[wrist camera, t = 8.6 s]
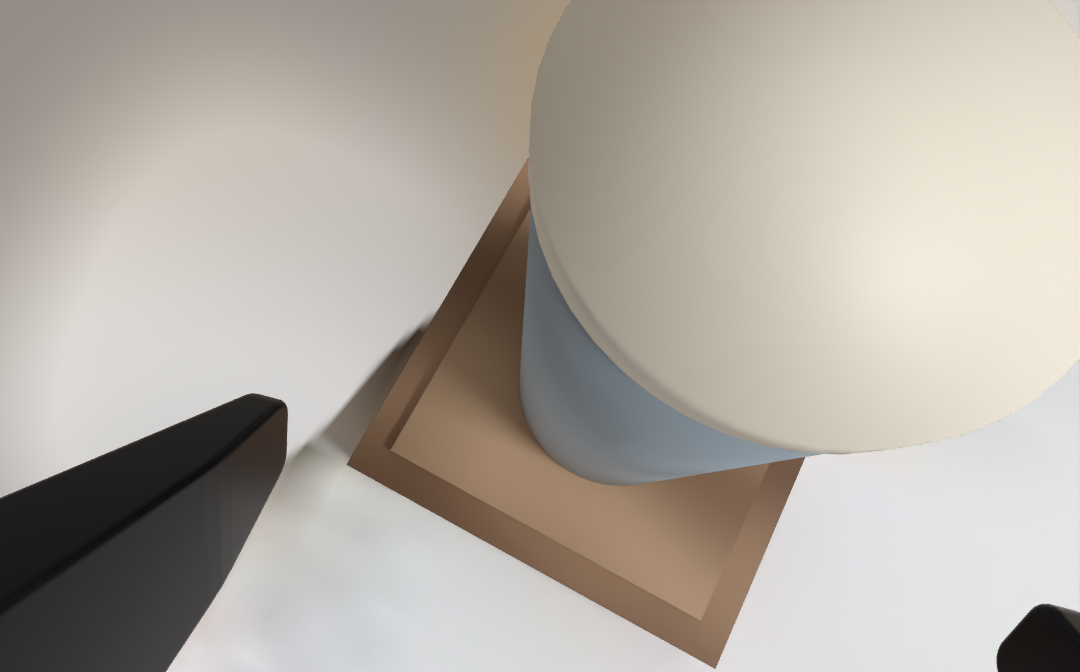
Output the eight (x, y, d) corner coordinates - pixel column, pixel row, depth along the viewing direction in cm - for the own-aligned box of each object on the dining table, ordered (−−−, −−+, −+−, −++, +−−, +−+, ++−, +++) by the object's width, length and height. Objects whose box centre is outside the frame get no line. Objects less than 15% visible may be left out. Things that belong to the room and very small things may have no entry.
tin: (534, 503, 17) (585, 498, 5) (503, 302, 18) (490, -83, 6) (737, 470, 17) (1229, 395, 5) (695, 276, 18) (1024, -133, 7)
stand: (693, 651, 18) (717, 671, 16) (363, 468, 19) (344, 463, 17) (834, 325, 20) (872, 304, 18) (535, 175, 21) (538, 138, 19)
